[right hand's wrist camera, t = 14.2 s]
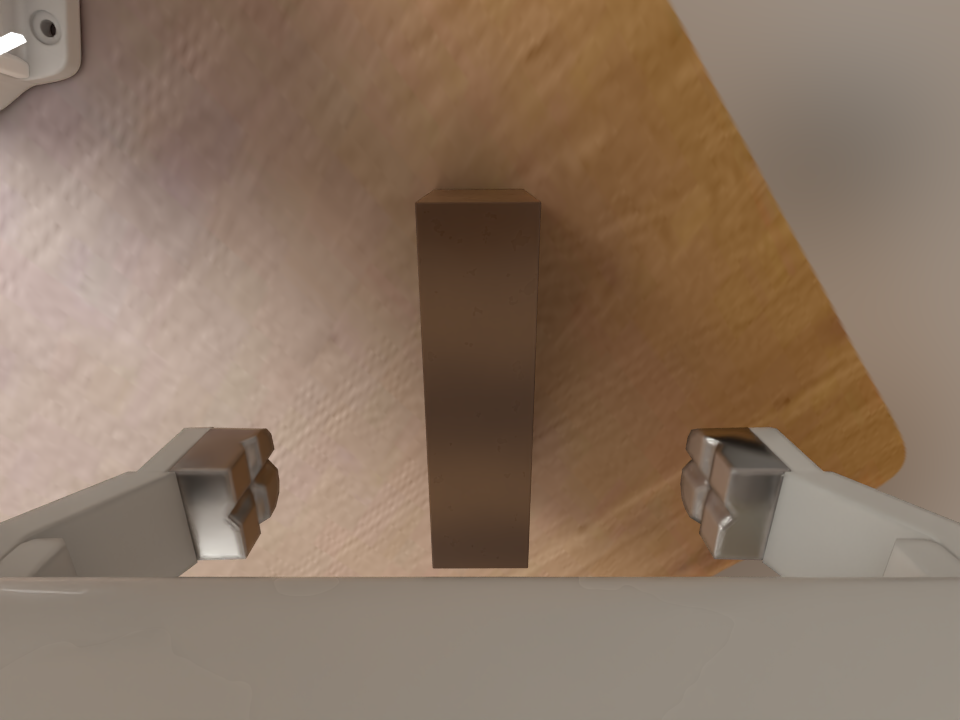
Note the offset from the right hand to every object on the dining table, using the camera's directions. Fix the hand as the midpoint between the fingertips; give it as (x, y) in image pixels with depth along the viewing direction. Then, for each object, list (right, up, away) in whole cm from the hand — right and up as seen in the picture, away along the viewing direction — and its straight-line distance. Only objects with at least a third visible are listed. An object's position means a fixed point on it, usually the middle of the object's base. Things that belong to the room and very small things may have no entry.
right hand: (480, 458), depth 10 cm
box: (0, +3, +27) cm, 27 cm away
